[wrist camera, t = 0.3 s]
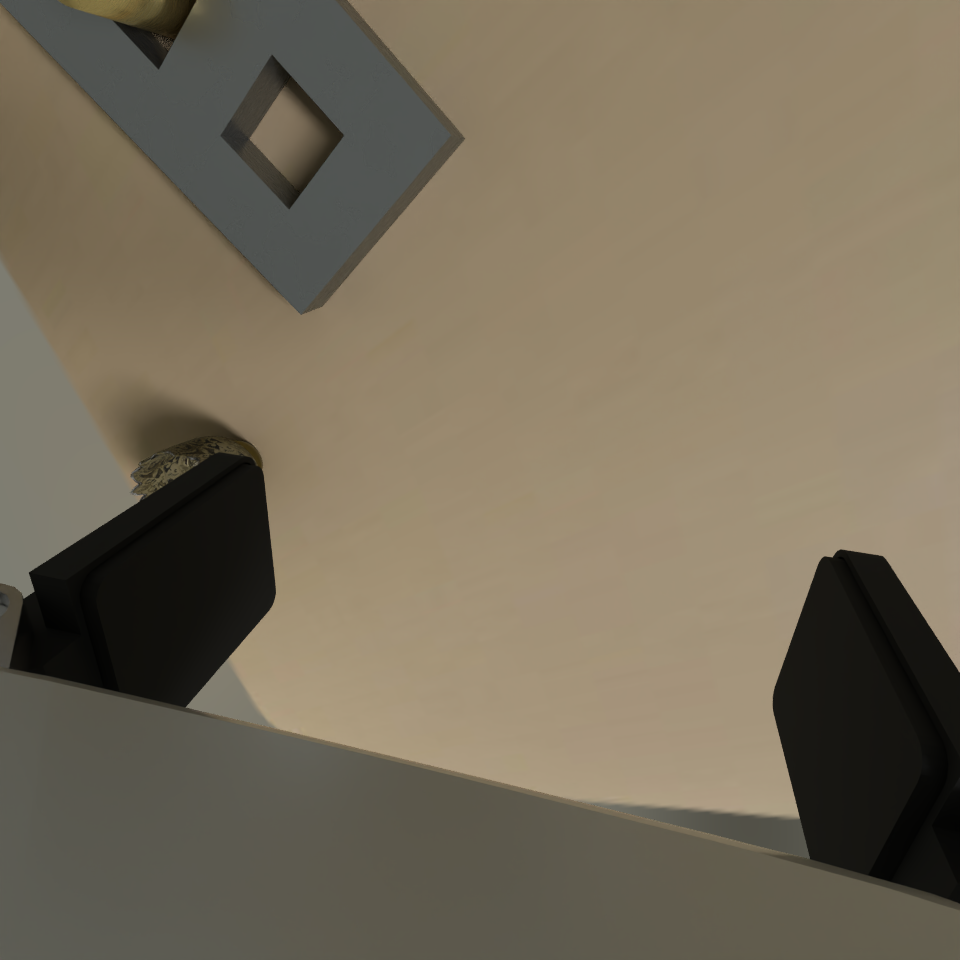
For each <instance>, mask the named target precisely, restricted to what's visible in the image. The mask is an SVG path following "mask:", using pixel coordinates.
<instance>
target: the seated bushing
mask: <svg viewBox="0 0 960 960" xmlns="http://www.w3.org/2000/svg"><path fill="white" fill-rule="evenodd" d="M58 1H59V2H61V3H62V4H64V5H66V6H68V7H71V8H74V9H77V10H81V11H84V12H87V13H90V14H94V15H97V16H100V17H104V18H107V19H110V20H114V21H117V22H120V23H123V24H127V25H130V26H133V27H137V28H140V29H143V30H147V31H150V32H153V33H156V34H160V35H163V36H166V37H170V38H173V39H176V37H177V36H178V34H179V32H180V30H181V28H182V26H183V25H184V23H185V21H186V19H187V17H188V15H189V14H190V12H191V10H192V8H193V6H194V4H195V3H196V1H197V0H58Z"/></svg>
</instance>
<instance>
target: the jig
mask: <svg viewBox="0 0 960 960" xmlns="http://www.w3.org/2000/svg"><path fill="white" fill-rule="evenodd" d="M0 3H1V4H2V5H3V6H4V7H5V8H6V9H7V10H8V11H9V12H10V13H11V15H12V16H13V17H14V18H15V19H16V20H17V21H18V22H19V23H20V24H21V25H22V26H23V27H24V28H25V29H26V30H27V31H28V32H29V33H30V34H31V35H32V36H33V37H34V38H35V39H36V40H37V42H38V43H39V44H40V45H41V46H42V47H43V48H44V49H45V50H46V51H47V52H48V53H49V54H50V55H51V56H52V57H53V58H54V59H55V60H56V61H57V62H58V63H59V64H60V65H61V66H62V67H63V68H64V70H65V71H66V72H67V73H68V74H69V75H70V76H71V77H72V78H73V79H74V80H75V81H76V82H77V83H78V84H79V85H80V86H81V87H82V88H83V89H84V90H85V91H86V92H87V93H88V94H89V95H90V96H91V98H92V99H93V100H94V101H95V102H96V103H97V104H98V105H99V106H100V107H101V108H102V109H103V110H104V111H105V112H106V113H107V114H108V115H109V116H110V117H111V118H112V119H113V120H114V121H115V122H116V123H117V124H118V126H119V127H120V128H121V129H122V130H123V131H124V132H125V133H126V134H127V135H128V136H129V137H130V138H131V139H132V140H133V141H134V142H135V143H136V144H137V145H138V146H139V147H140V148H141V149H142V150H143V151H144V152H145V154H146V155H147V156H148V157H149V158H150V159H151V160H152V161H153V162H154V163H155V164H156V165H157V166H158V167H159V168H160V169H161V170H162V171H163V172H164V173H165V174H166V175H167V176H168V177H169V178H170V179H171V181H172V182H173V183H174V184H175V185H176V186H177V187H178V188H179V189H180V190H181V191H182V192H183V193H184V194H185V195H186V196H187V197H188V198H189V199H190V200H191V201H192V202H193V203H194V204H195V205H196V206H197V207H198V209H199V210H200V211H201V212H202V213H203V214H204V215H205V216H206V217H207V218H208V219H209V220H210V221H211V222H212V223H213V224H214V225H215V226H216V227H217V228H218V229H219V230H220V231H221V232H222V233H223V234H224V235H225V237H226V238H227V239H228V240H229V241H230V242H231V243H232V244H233V245H234V246H235V247H236V248H237V249H238V250H239V251H240V252H241V253H242V254H243V255H244V256H245V257H246V258H247V259H248V260H249V261H250V262H251V263H252V265H253V266H254V267H255V268H256V269H257V270H258V271H259V272H260V273H261V274H262V275H263V276H264V277H265V278H266V279H267V280H268V281H269V282H270V283H271V284H272V285H273V286H274V287H275V288H276V289H277V290H278V291H279V293H280V294H281V295H282V296H283V297H284V298H285V299H286V300H287V301H288V302H289V303H290V304H291V305H292V306H293V307H294V308H295V309H296V310H297V311H298V312H299V313H300V314H301V315H302V314H304V313H307V312H309V311H312V310H314V309H317V308H320V307H322V306H323V305H324V304H325V303H326V301H327V300H328V299H329V298H330V297H331V296H332V294H333V293H334V292H335V291H336V290H337V289H338V287H339V286H340V285H341V284H342V283H343V281H344V280H345V279H346V278H347V277H348V276H349V274H350V273H351V272H352V271H353V270H354V269H355V267H356V266H357V265H358V264H359V263H360V261H361V260H362V259H363V258H364V257H365V256H366V254H367V253H368V252H369V251H370V250H371V249H372V247H373V246H374V245H375V244H376V243H377V242H378V240H379V239H380V238H381V237H382V236H383V234H384V233H385V232H386V231H387V230H388V229H389V227H390V226H391V225H392V224H393V223H394V222H395V220H396V219H397V218H398V217H399V216H400V215H401V213H402V212H403V211H404V210H405V209H406V207H407V206H408V205H409V204H410V203H411V202H412V200H413V199H414V198H415V197H416V196H417V195H418V193H419V192H420V191H421V190H422V189H423V187H424V186H425V185H426V184H427V183H428V182H429V180H430V179H431V178H432V177H433V176H434V175H435V173H436V172H437V171H438V170H439V169H440V168H441V166H442V165H443V164H444V163H445V162H446V160H447V159H448V158H449V157H450V156H451V155H452V153H453V152H454V151H455V150H456V149H457V148H458V146H459V145H460V144H461V143H462V142H463V140H464V139H465V138H464V137H463V135H462V134H461V133H460V132H459V131H458V130H457V128H456V127H455V126H454V125H453V124H452V123H451V121H450V120H449V119H448V118H447V117H446V116H445V114H444V113H443V112H442V111H441V110H440V108H439V107H438V106H437V105H436V104H435V103H434V101H433V100H432V99H431V98H430V97H429V96H428V94H427V93H426V92H425V91H424V90H423V89H422V87H421V86H420V85H419V84H418V83H417V82H416V80H415V79H414V78H413V77H412V76H411V75H410V73H409V72H408V71H407V70H406V69H405V67H404V66H403V65H402V64H401V63H400V62H399V60H398V59H397V58H396V57H395V56H394V55H393V53H392V52H391V51H390V50H389V49H388V48H387V46H386V45H385V44H384V43H383V42H382V41H381V39H380V38H379V37H378V36H377V35H376V34H375V32H374V31H373V30H372V29H371V28H370V26H369V25H368V24H367V23H366V22H365V21H364V19H363V18H362V17H361V16H360V15H359V14H358V12H357V11H356V10H355V9H354V8H353V7H352V5H351V4H350V3H349V2H348V1H347V0H197V1H196V3H195V4H194V6H193V8H192V10H191V12H190V14H189V15H188V17H187V19H186V21H185V23H184V25H183V26H182V28H181V30H180V32H179V34H178V36H177V37H176V39H175V41H174V43H173V45H172V47H171V48H170V50H169V52H168V51H167V50H166V49H165V48H164V47H163V45H162V44H161V43H160V42H159V41H158V40H157V39H156V38H155V37H154V36H153V35H152V34H151V32H150V31H147V30H143V29H140V28H137V27H133V26H130V25H127V24H123V23H120V22H117V21H114V20H110V19H107V18H104V17H100V16H97V15H94V14H90V13H87V12H84V11H81V10H77V9H74V8H71V7H68V6H66V5H64V4H62V3H61V2H59V1H58V0H0ZM290 76H292V77H293V79H294V80H295V81H296V82H297V83H298V84H299V85H300V86H301V88H302V89H303V90H304V91H305V92H306V93H307V94H308V95H309V96H310V98H311V99H312V100H313V101H314V102H315V103H316V104H317V105H318V107H319V108H320V109H321V110H322V111H323V112H324V113H325V114H326V116H327V117H328V118H329V119H330V120H331V121H332V122H333V123H334V124H335V126H336V127H337V128H338V129H339V130H340V131H341V132H342V133H343V135H344V137H343V138H342V139H341V141H340V142H339V143H338V145H337V146H336V147H335V149H334V150H333V151H332V153H331V154H330V155H329V157H328V158H327V160H326V161H325V162H324V164H323V165H322V166H321V168H320V169H319V170H318V172H317V173H316V174H315V176H314V177H313V178H312V180H311V181H310V182H309V184H308V185H307V186H306V188H305V189H304V191H303V192H302V193H301V195H300V194H299V192H298V191H297V190H296V189H295V188H294V187H293V186H292V185H291V184H290V183H289V182H288V181H287V179H286V178H285V177H284V176H283V175H282V174H281V173H280V172H279V171H278V170H277V169H276V168H275V166H274V165H273V164H272V163H271V162H270V161H269V160H268V159H267V158H266V157H265V156H264V155H263V154H262V152H261V151H260V150H259V149H258V148H257V147H256V146H255V145H254V144H253V143H252V142H251V141H250V139H249V138H250V137H251V135H252V134H253V132H254V131H255V129H256V128H257V126H258V125H259V123H260V121H261V120H262V118H263V117H264V115H265V114H266V112H267V111H268V109H269V108H270V106H271V105H272V103H273V102H274V100H275V99H276V97H277V96H278V94H279V93H280V91H281V90H282V88H283V87H284V85H285V84H286V82H287V81H288V79H289V78H290Z"/></svg>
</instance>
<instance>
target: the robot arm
mask: <svg viewBox="0 0 960 960" xmlns="http://www.w3.org/2000/svg"><path fill="white" fill-rule="evenodd" d="M29 575H30V577H31V581H32V584H33V587H34V591H35V592H33V593H32V594H30V595H29V596H27V597H26V598H24V599H23V596H22V593H21V592H20V591H18V590H17V589H16V588H15V587H12V586H9V585H6V584H0V960H960V672H959V671H958V669H957V668H956V666H955V665H954V663H953V662H952V660H951V659H950V657H949V656H948V654H947V652H946V651H945V649H944V648H943V646H942V645H941V643H940V642H939V640H938V639H937V637H936V636H935V634H934V632H933V631H932V629H931V628H930V626H929V625H928V623H927V622H926V620H925V619H924V617H923V616H922V614H921V612H920V611H919V609H918V608H917V606H916V605H915V603H914V602H913V600H912V599H911V597H910V596H909V594H908V592H907V591H906V589H905V588H904V586H903V585H902V583H901V582H900V580H899V579H898V577H897V576H896V574H895V572H894V571H893V569H892V568H891V566H890V565H889V563H888V562H887V560H886V559H885V558H884V557H883V556H879V555H873V554H866V553H860V552H854V551H847V550H839V551H837V552H836V553H835V555H834V556H833V558H832V557H823V558H822V559H821V560H820V562H819V564H818V567H817V569H816V572H815V575H814V578H813V581H812V584H811V586H810V589H809V592H808V595H807V598H806V601H805V603H804V606H803V609H802V612H801V615H800V618H799V620H798V623H797V626H796V629H795V632H794V635H793V637H792V640H791V643H790V646H789V649H788V652H787V654H786V657H785V660H784V663H783V666H782V669H781V671H780V674H779V677H778V680H777V683H776V686H775V689H774V694H773V712H774V716H775V720H776V724H777V728H778V732H779V736H780V740H781V744H782V748H783V752H784V756H785V760H786V764H787V768H788V772H789V776H790V780H791V784H792V788H793V792H794V796H795V800H796V804H797V808H798V812H799V816H800V820H801V824H802V828H803V832H804V836H805V840H806V844H807V848H808V852H809V856H810V859H807V858H803V857H799V856H795V855H791V854H787V853H783V852H778V851H774V850H770V849H766V848H762V847H758V846H754V845H750V844H747V843H743V842H739V841H735V840H731V839H727V838H723V837H720V836H716V835H712V834H708V833H704V832H700V831H695V830H692V829H688V828H683V827H679V826H675V825H671V824H667V823H663V822H659V821H655V820H651V819H647V818H643V817H639V816H635V815H630V814H627V813H623V812H618V811H614V810H610V809H606V808H602V807H598V806H594V805H590V804H586V803H582V802H578V801H574V800H570V799H566V798H562V797H557V796H553V795H549V794H545V793H541V792H537V791H533V790H529V789H525V788H521V787H517V786H513V785H509V784H505V783H500V782H496V781H492V780H488V779H484V778H480V777H475V776H471V775H467V774H463V773H459V772H455V771H451V770H446V769H442V768H438V767H434V766H430V765H426V764H422V763H417V762H413V761H409V760H405V759H401V758H397V757H392V756H388V755H384V754H380V753H376V752H372V751H367V750H363V749H359V748H355V747H351V746H346V745H342V744H338V743H334V742H330V741H325V740H321V739H317V738H313V737H309V736H304V735H300V734H296V733H292V732H288V731H283V730H279V729H275V728H271V727H266V726H262V725H258V724H253V723H249V722H245V721H240V720H236V719H232V718H228V717H223V716H219V715H215V714H210V713H206V712H202V711H198V710H193V709H189V708H185V707H186V706H187V705H188V704H189V703H190V702H191V700H192V699H193V698H194V697H195V696H196V695H197V693H198V692H199V691H200V690H201V689H202V688H203V686H204V685H205V684H206V683H207V682H208V681H209V679H210V678H211V677H212V676H213V675H214V674H215V672H216V671H217V670H218V669H219V668H220V666H221V665H222V664H223V663H224V662H225V661H226V660H227V659H228V658H229V656H230V655H231V654H232V653H233V652H234V651H235V649H236V648H237V647H238V646H239V645H240V644H241V642H242V641H243V640H244V639H245V638H246V637H247V636H248V634H249V633H250V632H251V631H252V630H253V629H254V627H255V626H256V625H257V624H258V623H259V622H260V620H261V619H262V618H263V617H264V616H265V615H266V614H267V612H268V611H269V610H270V608H271V607H272V605H273V603H274V599H275V595H276V586H275V577H274V567H273V558H272V549H271V539H270V530H269V521H268V511H267V502H266V493H265V483H264V475H263V471H262V469H261V468H260V467H259V466H256V464H255V462H254V460H253V459H252V458H251V457H248V456H241V455H235V454H229V453H222V452H218V453H215V454H213V455H212V456H210V457H209V458H207V459H205V460H204V461H202V462H201V463H199V464H198V465H196V466H194V467H193V468H191V469H190V470H188V471H187V472H185V473H184V474H182V475H180V476H179V477H177V478H176V479H174V480H173V481H171V482H170V483H168V484H166V485H165V486H163V487H162V488H160V489H159V490H157V491H155V492H154V493H152V494H151V495H149V496H148V497H146V498H145V499H143V500H141V501H140V502H138V503H137V504H135V505H134V506H132V507H130V508H129V509H127V510H126V511H125V512H123V513H121V514H120V515H118V516H117V517H115V518H113V519H112V520H110V521H109V522H107V523H106V524H104V525H102V526H101V527H99V528H98V529H96V530H95V531H93V532H91V533H90V534H89V535H87V536H85V537H84V538H82V539H81V540H79V541H77V542H76V543H74V544H73V545H71V546H70V547H68V548H66V549H65V550H63V551H62V552H60V553H59V554H57V555H56V556H54V557H52V558H51V559H49V560H48V561H46V562H45V563H43V564H42V565H40V566H38V567H37V568H35V569H34V570H32V571H31V572H29Z"/></svg>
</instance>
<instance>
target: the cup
mask: <svg viewBox="0 0 960 960" xmlns="http://www.w3.org/2000/svg"><path fill="white" fill-rule="evenodd" d="M218 452H222V453H229V454H235V455H241V456H248V457H251V458H252V459H253V460H254V462H255V464H256V466H259V467H260V468H261V469H262V468H263V462H262V458H261V456H260V454H259V452H258V451H257V450H256V449H255V448H254V447H253V446H252V445H251V444H249V443H247V442H245V441H241V440H230V439H227V438H223V437H216V436H207V437H201V438H197V439H193V440H190V441H187V442H184V443H181V444H178V445H176V446H173V447H171V448H168V449H166V450H163V451H161V452H158V453H156V454H154V455H153V456H152V457H150V458H147V459H145V460H143V461H142V462H140V463H139V464H138V465H139V466H140V467H138V468H137V469H136V470H135V471H133V472H132V474H131V478H132V479H133V480H134V481H135V482H136V483H138V485H137V486H135V487H134V489H133V490H132V491H131V494H133V495H137V496H138V495H144V496H142V498H141V499H140V500H139V501H141V500H143V499H145V498H146V497H148V496H149V495H151V494H152V493H154V492H155V491H157V490H159V489H160V488H162V487H163V486H165V485H166V484H168V483H170V482H171V481H173V480H174V479H176V478H177V477H179V476H180V475H182V474H184V473H185V472H187V471H188V470H190V469H191V468H193V467H194V466H196V465H198V464H199V463H201V462H202V461H204V460H205V459H207V458H209V457H210V456H212V455H213V454H215V453H218Z"/></svg>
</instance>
